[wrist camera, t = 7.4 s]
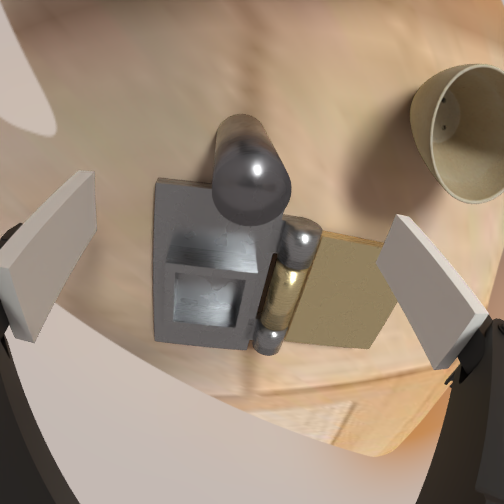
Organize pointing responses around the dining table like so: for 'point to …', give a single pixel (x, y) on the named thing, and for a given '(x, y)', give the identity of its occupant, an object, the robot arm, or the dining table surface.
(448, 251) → the dining table surface
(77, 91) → the dining table surface
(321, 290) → the brass leaf
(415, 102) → the flower pot
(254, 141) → the pin
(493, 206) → the dining table surface
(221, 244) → the hinge base
